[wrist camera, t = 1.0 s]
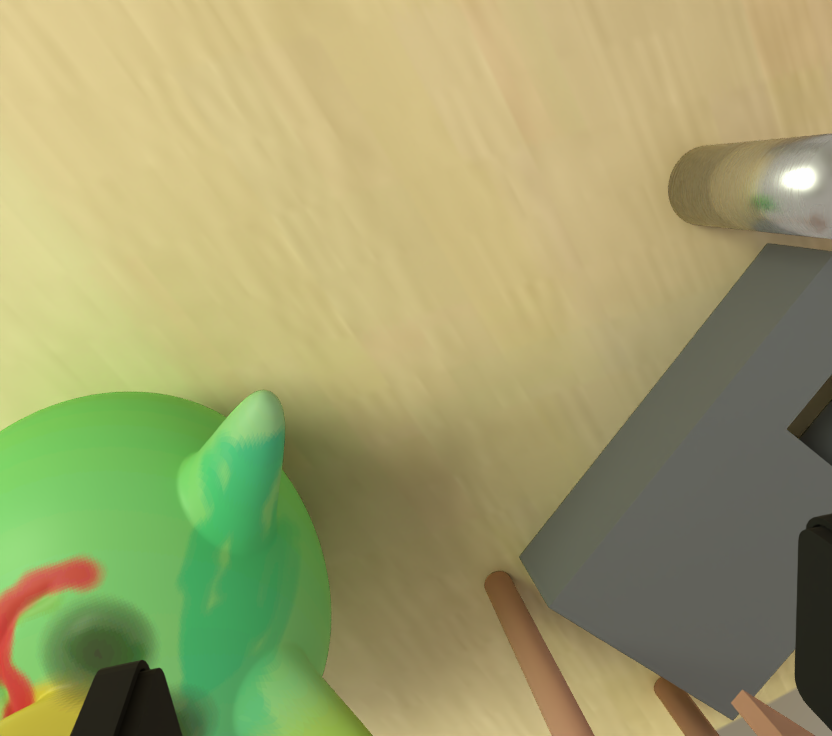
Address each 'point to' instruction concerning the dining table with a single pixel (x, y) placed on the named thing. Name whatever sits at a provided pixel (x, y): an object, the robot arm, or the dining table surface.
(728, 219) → the metal peg
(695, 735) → the canopy
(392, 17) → the dining table surface
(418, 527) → the dining table surface
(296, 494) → the toy bird
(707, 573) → the socket plate
